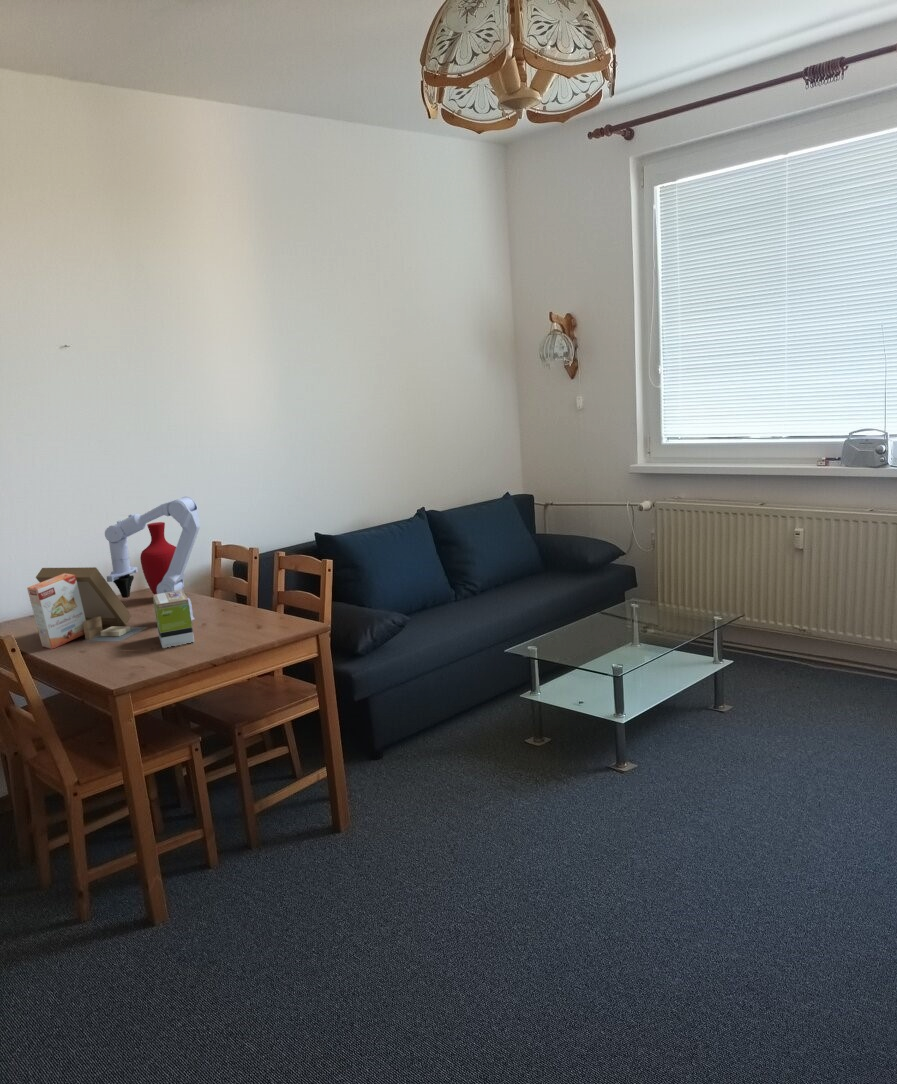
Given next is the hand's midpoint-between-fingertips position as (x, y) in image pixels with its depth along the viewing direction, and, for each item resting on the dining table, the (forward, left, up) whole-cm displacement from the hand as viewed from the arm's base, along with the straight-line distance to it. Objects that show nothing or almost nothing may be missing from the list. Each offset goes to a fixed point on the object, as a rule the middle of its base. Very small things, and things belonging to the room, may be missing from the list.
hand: (125, 597), depth 294 cm
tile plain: (+3, +15, -10) cm, 18 cm away
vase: (+8, -35, -10) cm, 38 cm away
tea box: (-29, +17, -10) cm, 35 cm away
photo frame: (+10, -3, -5) cm, 11 cm away
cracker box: (+9, +21, -9) cm, 25 cm away
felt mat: (-3, +12, -10) cm, 16 cm away
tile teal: (-3, +9, -9) cm, 13 cm away
